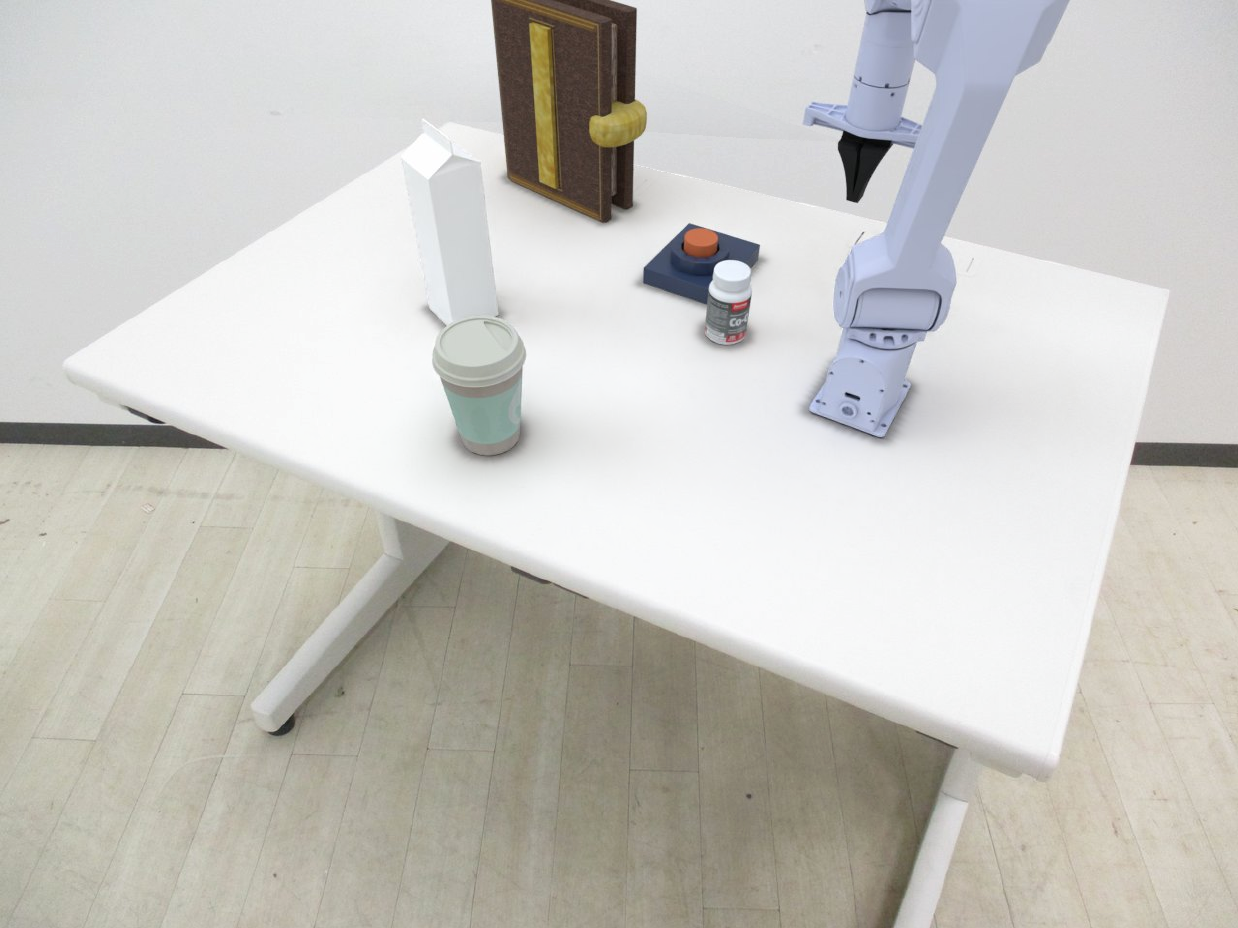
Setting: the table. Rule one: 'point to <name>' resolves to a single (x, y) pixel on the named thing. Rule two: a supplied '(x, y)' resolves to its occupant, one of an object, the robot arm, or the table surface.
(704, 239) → the orange push button
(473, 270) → the milk
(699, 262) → the block
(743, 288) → the pill bottle
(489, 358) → the coffee cup
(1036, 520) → the table surface
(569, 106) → the book
